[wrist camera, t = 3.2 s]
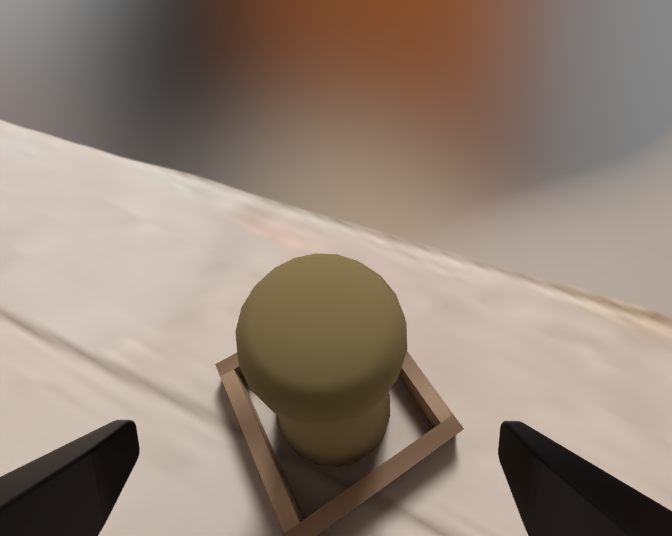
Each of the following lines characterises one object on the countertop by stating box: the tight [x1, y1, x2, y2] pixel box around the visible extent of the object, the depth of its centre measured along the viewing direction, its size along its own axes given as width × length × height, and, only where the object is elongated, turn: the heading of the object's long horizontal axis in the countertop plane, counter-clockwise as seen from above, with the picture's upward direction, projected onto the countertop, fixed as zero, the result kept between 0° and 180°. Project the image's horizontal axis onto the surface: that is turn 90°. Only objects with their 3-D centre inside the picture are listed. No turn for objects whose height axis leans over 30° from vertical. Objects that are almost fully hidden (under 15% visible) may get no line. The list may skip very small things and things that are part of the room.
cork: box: [236, 254, 407, 467], centre depth 14 cm, size 6×6×11 cm
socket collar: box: [215, 352, 464, 536], centre depth 18 cm, size 9×9×2 cm
